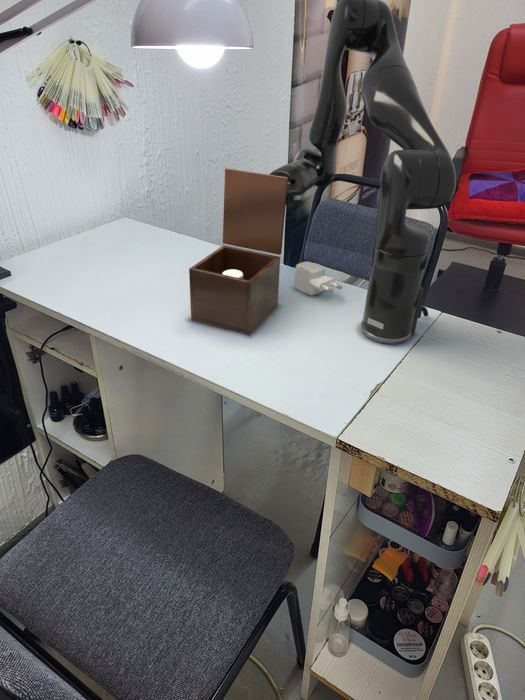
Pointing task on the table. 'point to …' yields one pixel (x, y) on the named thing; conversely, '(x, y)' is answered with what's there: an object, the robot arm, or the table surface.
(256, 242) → the lid
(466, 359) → the table surface
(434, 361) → the table surface
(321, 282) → the power adapter
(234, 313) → the supply box
